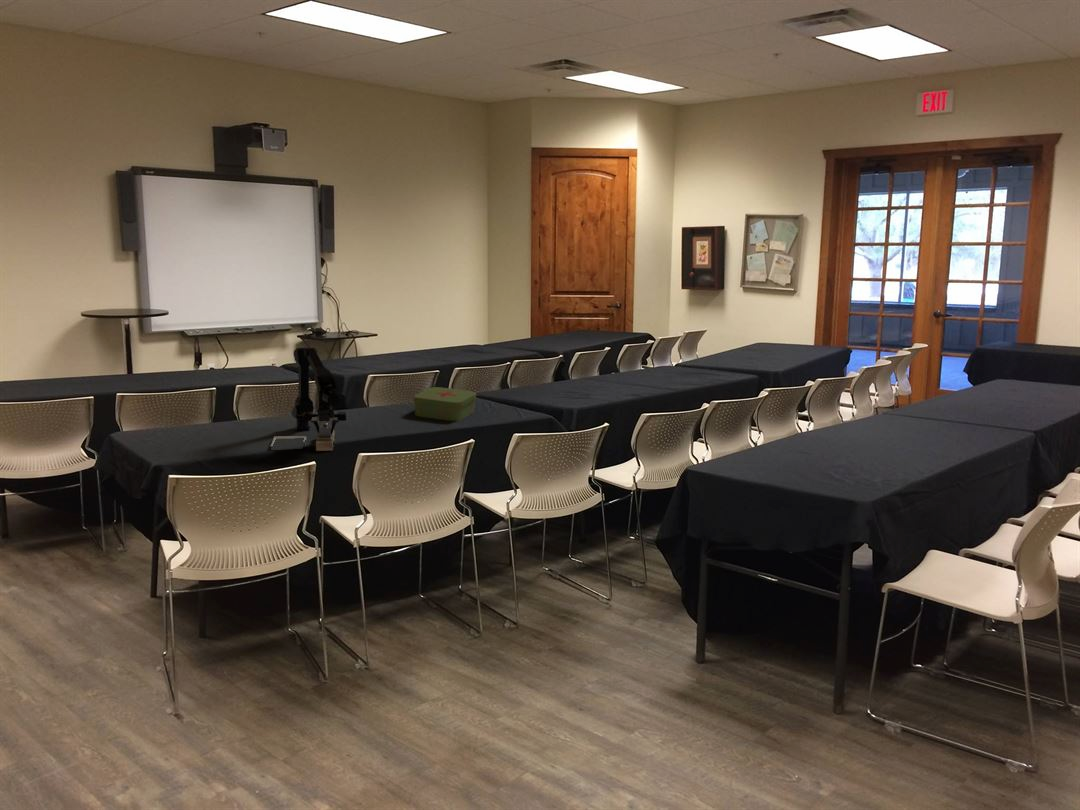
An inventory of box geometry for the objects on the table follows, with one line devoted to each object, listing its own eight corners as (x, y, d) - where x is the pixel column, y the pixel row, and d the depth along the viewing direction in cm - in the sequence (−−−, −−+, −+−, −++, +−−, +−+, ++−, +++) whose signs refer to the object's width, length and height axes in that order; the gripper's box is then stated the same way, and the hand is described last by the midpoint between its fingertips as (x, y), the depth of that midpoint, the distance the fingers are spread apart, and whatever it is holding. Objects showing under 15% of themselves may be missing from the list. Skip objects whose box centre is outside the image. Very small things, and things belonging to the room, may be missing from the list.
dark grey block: (320, 433, 397) (320, 422, 395) (331, 433, 397) (331, 422, 396) (319, 438, 390) (318, 426, 389) (330, 438, 391) (330, 426, 389)
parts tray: (274, 439, 398) (274, 436, 398) (306, 439, 401) (306, 436, 400) (270, 450, 383) (270, 447, 383) (303, 450, 385) (303, 446, 385)
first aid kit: (410, 416, 447) (410, 396, 445) (432, 404, 471) (433, 386, 469) (458, 422, 439) (458, 403, 437) (478, 410, 463) (478, 391, 461)
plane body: (318, 438, 403) (318, 430, 402) (334, 438, 404) (334, 430, 403) (316, 450, 386) (315, 441, 384) (332, 450, 387) (332, 441, 386)
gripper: (301, 405, 380) (302, 440, 384) (345, 405, 384) (346, 439, 388) (303, 399, 391) (304, 432, 395) (346, 399, 394) (347, 432, 398)
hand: (325, 434), depth 394 cm, fingers closed on dark grey block, 5 cm apart
